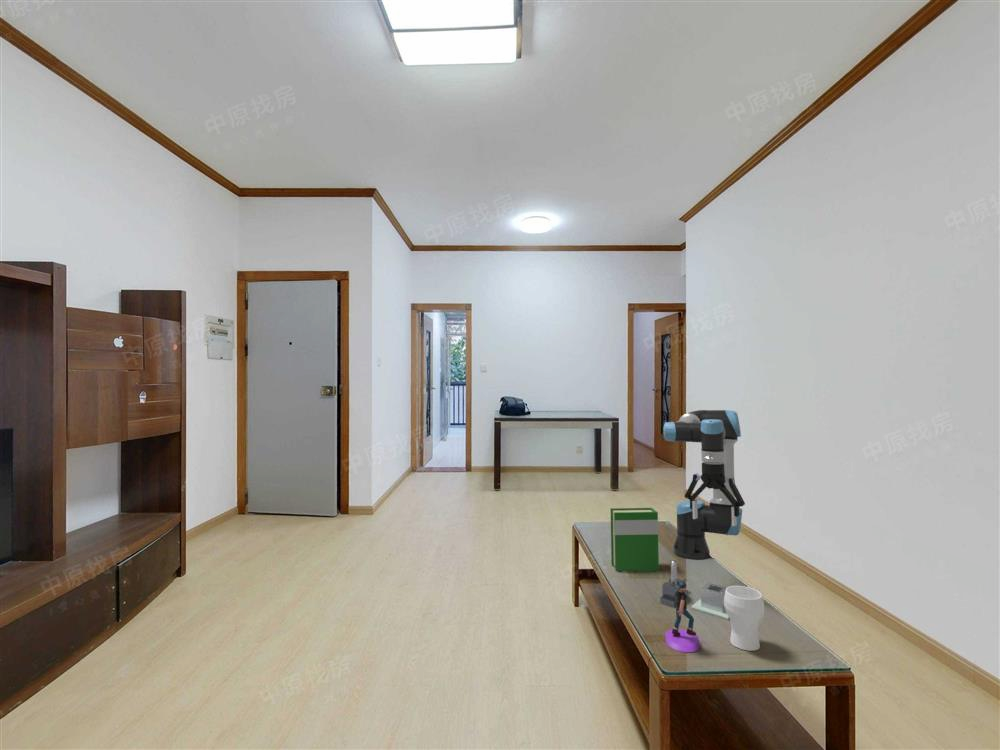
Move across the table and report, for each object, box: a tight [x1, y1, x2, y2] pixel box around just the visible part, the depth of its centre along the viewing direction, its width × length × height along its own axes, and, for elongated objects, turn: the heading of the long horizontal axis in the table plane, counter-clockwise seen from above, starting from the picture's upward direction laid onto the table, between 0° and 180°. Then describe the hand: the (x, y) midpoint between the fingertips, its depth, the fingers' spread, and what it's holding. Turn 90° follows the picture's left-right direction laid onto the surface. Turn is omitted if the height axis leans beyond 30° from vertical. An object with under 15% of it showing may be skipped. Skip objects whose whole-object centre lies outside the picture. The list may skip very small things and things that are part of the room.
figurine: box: [665, 582, 700, 653], centre depth 142 cm, size 9×9×18 cm
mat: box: [690, 598, 730, 621], centre depth 164 cm, size 12×12×1 cm
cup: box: [724, 585, 765, 652], centre depth 142 cm, size 11×11×15 cm
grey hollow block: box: [700, 582, 728, 613], centre depth 164 cm, size 7×7×6 cm
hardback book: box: [610, 507, 660, 572], centre depth 201 cm, size 18×7×24 cm, turn 90°
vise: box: [659, 559, 689, 608], centre depth 172 cm, size 16×5×14 cm, turn 137°
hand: (714, 521), depth 173 cm, fingers open, 13 cm apart
